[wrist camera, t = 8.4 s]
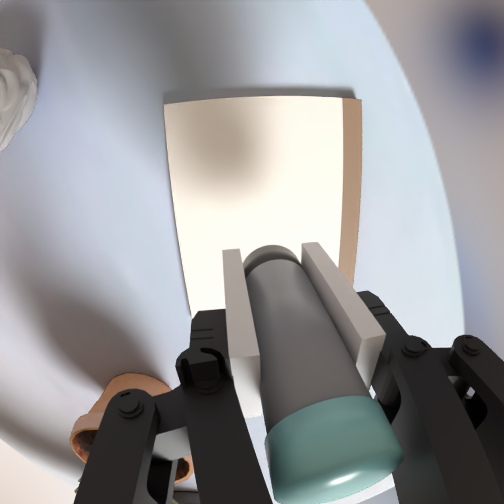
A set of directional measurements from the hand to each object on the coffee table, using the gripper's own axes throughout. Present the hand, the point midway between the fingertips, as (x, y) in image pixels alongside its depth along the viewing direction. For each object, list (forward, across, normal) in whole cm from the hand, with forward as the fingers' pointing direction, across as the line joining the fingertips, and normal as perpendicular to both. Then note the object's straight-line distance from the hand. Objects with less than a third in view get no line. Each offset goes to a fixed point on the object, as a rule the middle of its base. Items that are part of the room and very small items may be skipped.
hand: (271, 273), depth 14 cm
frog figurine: (+6, -14, +10) cm, 18 cm away
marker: (0, 0, 0) cm, 0 cm away
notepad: (+5, +1, +1) cm, 5 cm away
